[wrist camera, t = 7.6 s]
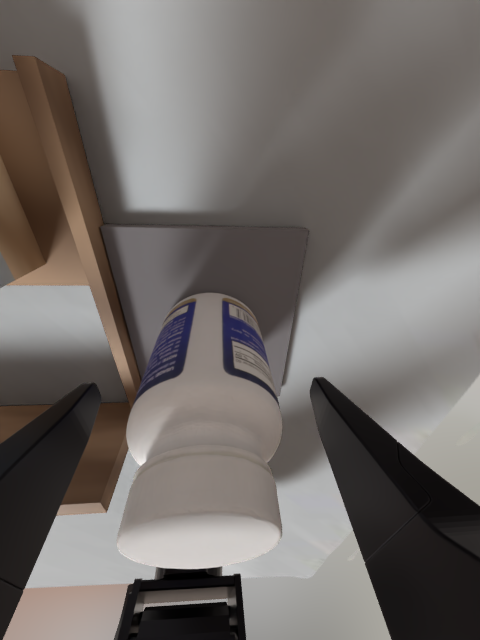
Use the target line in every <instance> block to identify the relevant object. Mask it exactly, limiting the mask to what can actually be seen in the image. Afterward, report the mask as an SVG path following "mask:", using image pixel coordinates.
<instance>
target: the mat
mask: <svg viewBox="0 0 480 640" xmlns="http://www.w3.org/2000/svg"><path fill="white" fill-rule="evenodd" d="M100 228H101V232H102V235H103V239H104V243H105V246H106V250H107V254H108V258H109V261H110V265H111V269H112V272H113V276H114V280H115V283H116V287H117V291H118V294H119V298H120V302H121V305H122V309H123V313H124V316H125V320H126V324H127V328H128V331H129V335H130V339H131V342H132V346H133V350H134V353H135V357H136V361H137V364H138V368H139V372H140V375H141V379H143V376H144V373H145V370H146V368H147V365H148V362H149V360H150V357H151V354H152V352H153V349H154V346H155V344H156V341H157V338H158V336H159V333H160V330H161V327H162V324H163V322H164V320H165V318H166V316H167V314H168V313H169V311H170V310H171V309H172V308H173V307H174V306H175V305H176V304H177V303H179V302H180V301H182V300H183V299H185V298H187V297H189V296H192V295H196V294H200V293H219V294H224V295H227V296H231V297H233V298H235V299H237V300H239V301H240V302H242V303H243V304H245V305H246V306H247V307H248V308H249V309H250V310H251V311H252V313H253V314H254V316H255V317H256V320H257V322H258V325H259V328H260V332H261V335H262V340H263V343H264V347H265V351H266V355H267V359H268V363H269V367H270V371H271V375H272V379H273V383H274V387H275V391H276V395H277V396H280V391H281V385H282V380H283V374H284V368H285V363H286V357H287V352H288V346H289V340H290V335H291V329H292V324H293V318H294V312H295V307H296V301H297V296H298V290H299V284H300V279H301V273H302V268H303V262H304V256H305V251H306V245H307V240H308V234H309V230H307V229H306V228H279V227H229V226H179V225H129V224H105V225H103V226H101V227H100Z"/></svg>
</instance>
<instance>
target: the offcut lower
mask: <svg viewBox="0 0 480 640" xmlns="http://www.w3.org/2000/svg"><path fill="white" fill-rule="evenodd" d="M0 252H1V254H2V256H3V258H4V260H5V261H6V263H7V265H8V267H9V269H10V271H11V273H12V275H13V277H14V279H15V280H17V279H18V278H20V277H22V276H24V275H26V274H28V273H30V272H32V271H34V270H36V269H38V268H39V267H41V266H43V265H45V264H46V263H45V260H44V258H43V255H42V253H41V251H40V248H39V246H38V244H37V241H36V239H35V236H34V234H33V232H32V229H31V227H30V225H29V222H28V220H27V217H26V215H25V213H24V210H23V208H22V206H21V203H20V201H19V198H18V196H17V194H16V191H15V189H14V187H13V184H12V182H11V180H10V177H9V175H8V172H7V170H6V168H5V165H4V163H3V161H2V158H1V156H0Z"/></svg>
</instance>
